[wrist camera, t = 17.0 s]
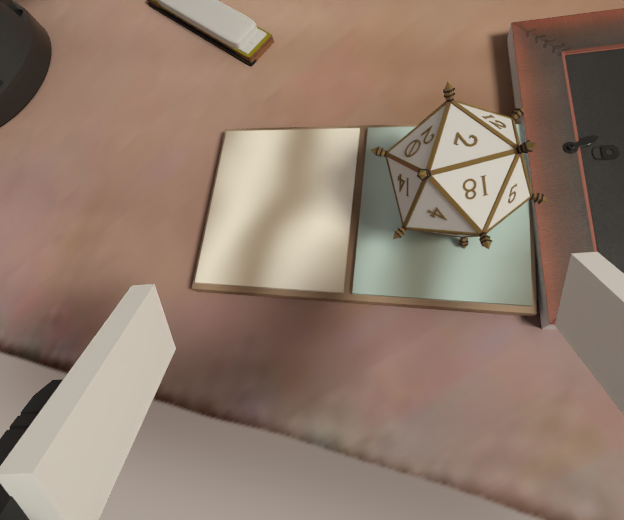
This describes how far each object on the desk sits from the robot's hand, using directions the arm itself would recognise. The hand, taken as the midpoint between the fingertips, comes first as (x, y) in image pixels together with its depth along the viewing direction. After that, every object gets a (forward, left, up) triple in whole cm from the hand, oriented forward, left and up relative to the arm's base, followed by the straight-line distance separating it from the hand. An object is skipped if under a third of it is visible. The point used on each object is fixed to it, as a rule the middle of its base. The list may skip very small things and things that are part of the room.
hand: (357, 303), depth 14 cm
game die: (+4, +10, -13) cm, 16 cm away
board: (-2, +9, -13) cm, 17 cm away
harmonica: (-18, +28, -14) cm, 36 cm away
